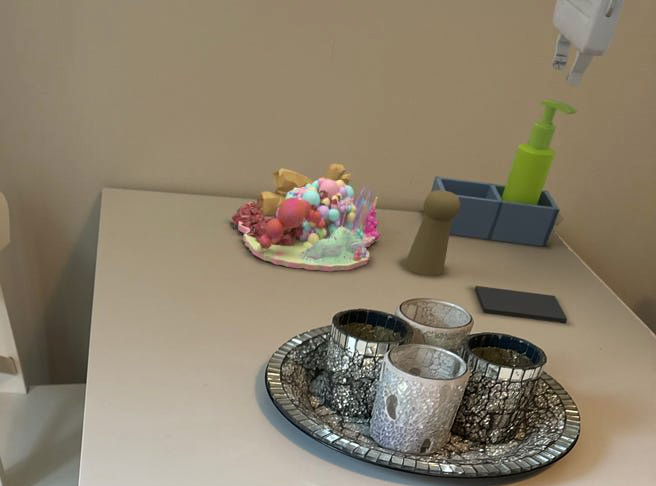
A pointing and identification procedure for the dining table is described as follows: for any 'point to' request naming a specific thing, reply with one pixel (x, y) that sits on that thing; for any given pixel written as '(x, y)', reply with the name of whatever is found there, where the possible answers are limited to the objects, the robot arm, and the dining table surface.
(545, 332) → the dining table surface
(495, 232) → the box
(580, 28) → the robot arm
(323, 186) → the candy landscape model
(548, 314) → the mat
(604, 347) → the dining table surface
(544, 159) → the soap dispenser
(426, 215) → the olive game pawn
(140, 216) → the dining table surface
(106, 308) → the dining table surface
